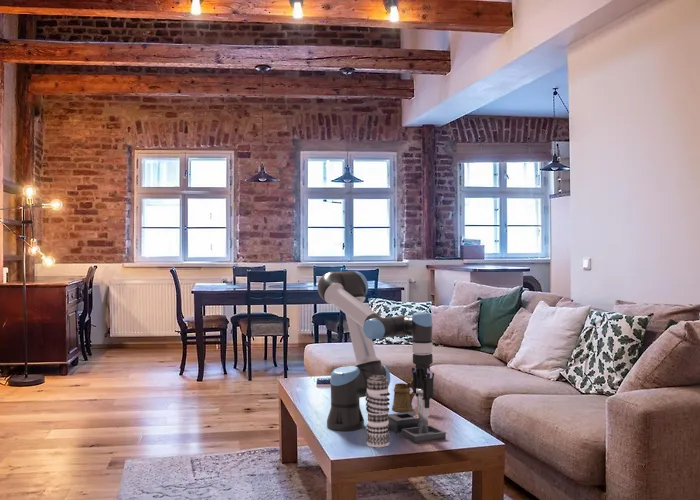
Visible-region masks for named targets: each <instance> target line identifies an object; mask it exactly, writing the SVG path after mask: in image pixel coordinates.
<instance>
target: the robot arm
mask: <svg viewBox="0 0 700 500" xmlns="http://www.w3.org/2000/svg"><path fill="white" fill-rule="evenodd" d="M319 278H320V279H319V280H318V282H317V292H318V294H319V296H320V298H321V299H322V300H323V301H324V302H325V303H327V304H329V305H334V306H335V307H336V308H337V309H338V310H340V311H341V312H343V313H344V314H345V319H346V323H347V327H348V332H349V336H350V340H351V343H352V348H353V349H352V350H353V353H354V357H355V363H354V365H347V366H340V367H337V368H334V369H333V370H332V371H331V373H330V379H329V381H330V409H329V413H328V417H327V419H326V428H328V429H330V430H332V431H341V432H344V431H345V432H346V431H355V430H356V431H357V430H361V429H362V428H364V427H365V420H364V416H363V413H362V410H361V407H360V398H366V395H365V394H366V392H367V388H368V386H367V381H366V380H367V379H369V377H370V376H372V375H383V376H385V377H386V379H388V387H389V386H390V383H391V374H390V370H389V369H388V368H387V366H385V365H383V364H382V361H381V359H379V358H378V357H377V355H376V351H375V347H374V342H373V340H379V339H380V340H381V339H384V338H385V339H386V338H392V337H394V338H395V337H402V336H406V337H407V336H408V337H412V353H413V354H412V363H413V364H414V365H415V367H412V368H411V373H412V377H413V389H412V392H413V393H414V394H415V396H416V407H417V414H418V393H416V388H422V389H423V398H422V416H423V417H426V416H428V417H430V415H431V413H430V407H431V406H430V400H431V399H434V378H435V373H434V372H431V367H430V365H432V364H433V357H434V356H433V354H432V353H433V347H434V345H433V315H432V314H431V313H430V312H425V311H423V312H422V311H418V312H417V311H416V312H413V313H412V316H409V315H403V314H400V315H398V314H396V315H393V316H391V317H389V316H388V317H382V316H381V315H379V314H378V313H376V312H375V311H373V310H372V309H371V308H369V307H368V306H367V305H365V303H364V302H365V300H366V295H367V294H368V289H369V283H368V279H367V278H366V275H364V274H363V273H361V272H360V271H355V270H354V271H353V270H348V271H329V272H327V273H324V274H322V276H321V277H319ZM367 395H368V394H367Z"/></svg>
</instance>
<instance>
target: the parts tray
mask: <svg viewBox="0 0 700 500" xmlns="http://www.w3.org/2000/svg"><path fill="white" fill-rule="evenodd" d="M401 437H403V438H404V439H407V440H409V441H410V442H412V443H414V444H419V443H420V444H421V443H426V442H427V443H429V442H434V441H441V440H447V432H445V431H443V430H442V429H439V428H438V427H436V426H434V425H433V424H432V425H431V424H430V425H429V424H428V433H419V427H413V428H406V429H402V433H401Z"/></svg>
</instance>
